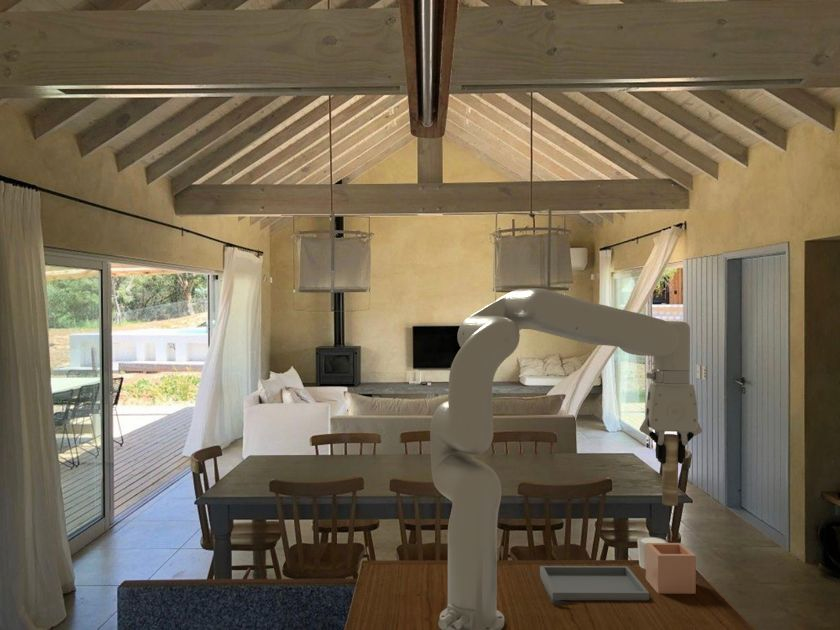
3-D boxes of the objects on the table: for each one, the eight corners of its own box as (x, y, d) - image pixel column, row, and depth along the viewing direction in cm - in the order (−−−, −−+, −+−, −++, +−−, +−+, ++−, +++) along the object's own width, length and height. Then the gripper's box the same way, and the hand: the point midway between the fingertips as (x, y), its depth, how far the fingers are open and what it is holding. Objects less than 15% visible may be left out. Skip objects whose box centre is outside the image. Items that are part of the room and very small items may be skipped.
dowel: (676, 506, 151) (676, 436, 151) (660, 504, 152) (661, 435, 152) (679, 503, 153) (679, 434, 153) (664, 501, 155) (664, 433, 155)
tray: (552, 604, 146) (552, 592, 146) (540, 576, 161) (540, 565, 161) (649, 604, 146) (649, 592, 146) (627, 577, 161) (627, 566, 161)
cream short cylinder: (670, 577, 161) (670, 546, 161) (638, 574, 162) (638, 544, 162) (665, 566, 167) (665, 537, 167) (635, 564, 169) (635, 535, 169)
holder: (657, 597, 149) (658, 555, 149) (645, 583, 157) (645, 542, 157) (695, 597, 149) (695, 555, 149) (681, 583, 157) (681, 543, 157)
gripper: (638, 379, 149) (637, 466, 149) (716, 380, 149) (715, 466, 149) (628, 376, 156) (627, 458, 157) (702, 376, 156) (701, 458, 157)
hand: (670, 461), depth 153 cm, fingers closed on dowel, 3 cm apart
